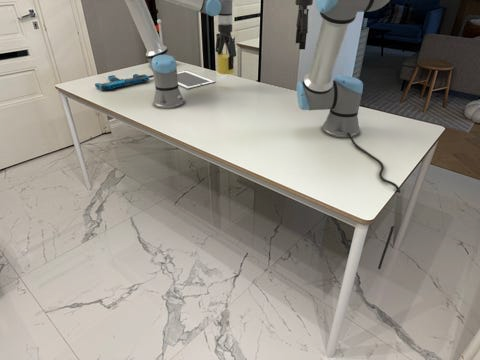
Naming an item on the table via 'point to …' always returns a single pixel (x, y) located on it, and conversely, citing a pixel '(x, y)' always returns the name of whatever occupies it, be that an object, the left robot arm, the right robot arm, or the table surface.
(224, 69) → the tin
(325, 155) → the table surface
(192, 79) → the tablet
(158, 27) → the flag stand
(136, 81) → the submachine gun
